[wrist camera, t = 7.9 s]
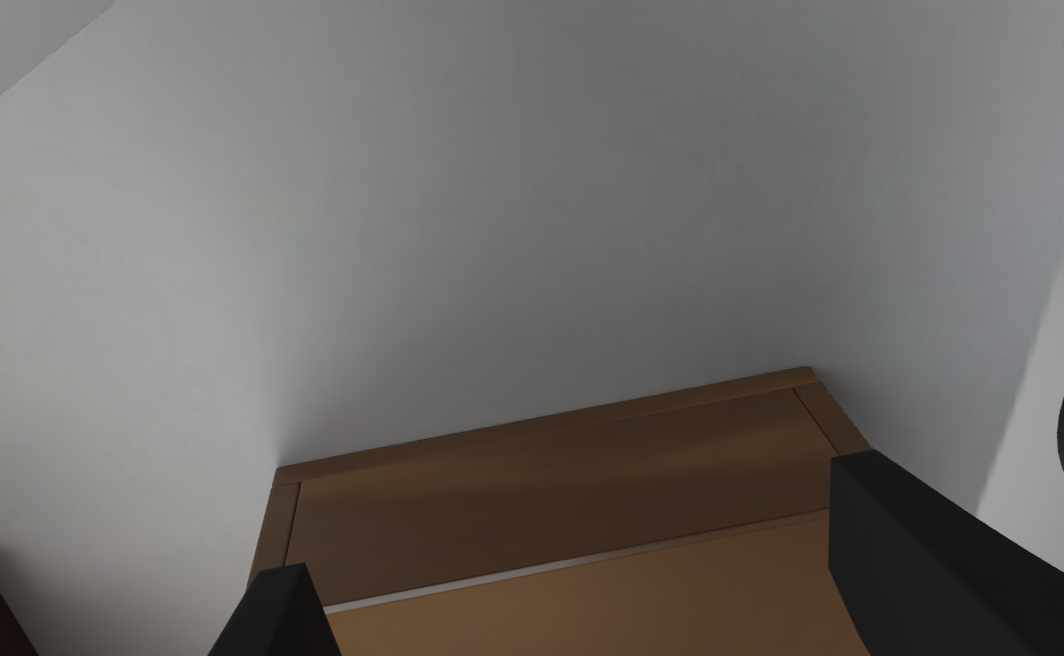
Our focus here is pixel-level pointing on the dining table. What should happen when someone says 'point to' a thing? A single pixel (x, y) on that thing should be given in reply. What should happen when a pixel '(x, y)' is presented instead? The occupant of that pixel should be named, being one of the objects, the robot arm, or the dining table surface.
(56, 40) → the slotted wedge
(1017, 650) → the robot arm
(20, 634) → the book
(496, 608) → the brown box
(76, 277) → the dining table surface
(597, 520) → the wooden tray
